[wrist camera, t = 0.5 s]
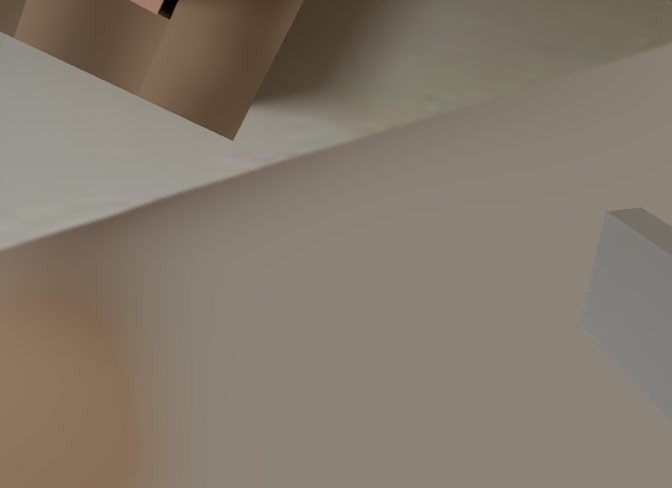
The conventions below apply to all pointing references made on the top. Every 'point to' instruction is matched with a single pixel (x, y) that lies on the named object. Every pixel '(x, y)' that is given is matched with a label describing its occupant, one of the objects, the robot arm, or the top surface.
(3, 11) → the socket block
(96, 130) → the top surface
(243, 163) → the top surface
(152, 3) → the peg
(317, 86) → the top surface
